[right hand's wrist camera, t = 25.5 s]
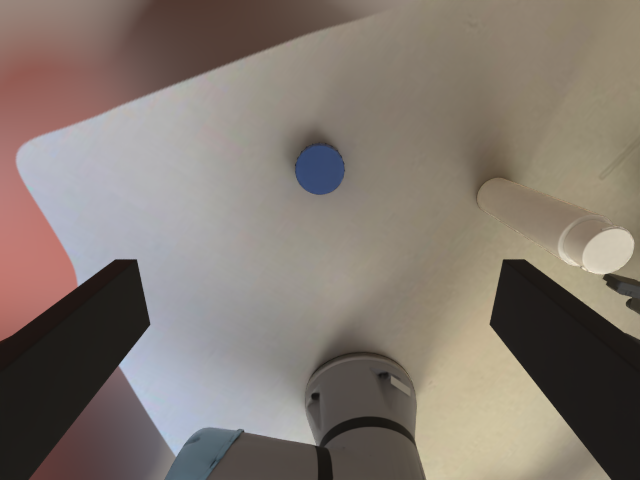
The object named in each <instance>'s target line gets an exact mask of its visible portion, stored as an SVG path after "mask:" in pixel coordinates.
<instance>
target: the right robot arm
mask: <svg viewBox="0 0 640 480" xmlns="http://www.w3.org/2000/svg"><path fill="white" fill-rule="evenodd" d="M149 326H150V320H149V315H148V311H147V306H146V301H145V296H144V292H143V287H142V282H141V277H140V272H139V268H138V263H137V259H115V260H114V261H113V262H111V263H110V264H109V265H107V266H106V267H104V268H103V269H102V270H100V271H99V272H98V273H96V274H95V275H94V276H92V277H91V278H90V279H88V280H87V281H85V282H84V283H83V284H81V285H80V286H79V287H77V288H76V289H75V290H73V291H72V292H71V293H69V294H68V295H66V296H65V297H64V298H62V299H61V300H60V301H58V302H57V303H56V304H54V305H53V306H52V307H50V308H49V309H48V310H46V311H45V312H44V313H42V314H41V315H39V316H38V317H37V318H35V319H34V320H33V321H31V322H30V323H29V324H27V325H26V326H24V327H23V328H22V329H20V330H19V331H18V332H16V333H15V334H14V335H12V336H10V337H8V338H6V339H4V340H2V341H0V480H29V478H30V477H31V476H32V475H33V473H34V472H35V471H36V470H37V468H38V467H39V466H40V464H41V463H42V462H43V461H44V459H45V458H46V457H47V455H48V454H49V453H50V452H51V450H52V449H53V448H54V447H55V445H56V444H57V443H58V442H59V440H60V439H61V438H62V436H63V435H64V434H65V433H66V431H67V430H68V429H69V428H70V426H71V425H72V424H73V422H74V421H75V420H76V419H77V417H78V416H79V415H80V413H81V412H82V411H83V410H84V408H85V407H86V406H87V405H88V403H89V402H90V401H91V399H92V398H93V397H94V396H95V394H96V393H97V392H98V391H99V389H100V388H101V387H102V386H103V384H104V383H105V382H106V380H107V379H108V378H109V377H110V375H111V374H112V373H113V372H114V370H115V369H116V368H117V366H118V365H119V364H120V363H121V361H122V360H123V359H124V358H125V356H126V355H127V354H128V352H129V351H130V350H131V349H132V347H133V346H134V345H135V344H136V342H137V341H138V340H139V338H140V337H141V336H142V335H143V333H144V332H145V331H146V330H147V328H148V327H149ZM490 326H491V327H492V328H493V330H494V331H495V332H496V333H497V335H498V336H499V337H500V338H501V340H502V341H503V342H504V344H505V345H506V346H507V347H508V349H509V350H510V351H511V352H512V354H513V355H514V356H515V358H516V359H517V360H518V361H519V363H520V364H521V365H522V366H523V368H524V369H525V370H526V372H527V373H528V374H529V375H530V377H531V378H532V379H533V380H534V382H535V383H536V384H537V386H538V387H539V388H540V389H541V391H542V392H543V393H544V394H545V396H546V397H547V398H548V400H549V401H550V402H551V403H552V405H553V406H554V407H555V408H556V410H557V411H558V412H559V414H560V415H561V416H562V417H563V419H564V420H565V421H566V422H567V424H568V425H569V426H570V428H571V429H572V430H573V431H574V433H575V434H576V435H577V436H578V438H579V439H580V440H581V442H582V443H583V444H584V445H585V447H586V448H587V449H588V450H589V452H590V453H591V454H592V456H593V457H594V458H595V459H596V461H597V462H598V463H599V464H600V466H601V467H602V468H603V470H604V471H605V472H606V473H607V475H608V476H609V477H610V478H611V480H640V340H639V339H637V338H635V337H633V336H631V335H629V334H627V333H624V332H622V331H621V330H620V329H618V328H617V327H616V326H614V325H613V324H611V323H610V322H609V321H607V320H606V319H605V318H603V317H602V316H601V315H599V314H598V313H597V312H595V311H594V310H593V309H591V308H590V307H588V306H587V305H586V304H584V303H583V302H582V301H580V300H579V299H578V298H576V297H575V296H574V295H572V294H571V293H569V292H568V291H567V290H565V289H564V288H563V287H561V286H560V285H559V284H557V283H556V282H555V281H553V280H552V279H550V278H549V277H548V276H546V275H545V274H544V273H542V272H541V271H540V270H538V269H537V268H536V267H534V266H533V265H531V264H530V263H529V262H527V261H526V260H525V259H503V263H502V268H501V272H500V277H499V282H498V287H497V292H496V296H495V301H494V306H493V311H492V315H491V320H490ZM305 408H306V415H307V419H308V422H309V425H310V428H311V431H312V433H313V436H314V439H315V442H316V445H317V446H315V445H311V444H305V443H299V442H293V441H287V440H282V439H276V438H271V437H266V436H261V435H256V434H251V433H245V432H244V430H242V429H239V430H237V431H235V430H227V429H219V428H203V429H201V430H199V431H197V432H196V433H194V434H193V435H192V436H191V437H190V438H189V439H188V440H187V442H186V443H185V445H184V446H183V448H182V449H181V451H180V452H179V454H178V456H177V457H176V459H175V461H174V463H173V464H172V466H171V468H170V470H169V472H168V474H167V476H166V478H165V480H426V477H425V474H424V470H423V467H422V464H421V460H420V457H419V454H418V450H417V447H416V443H415V425H416V410H417V402H416V395H415V390H414V387H413V384H412V381H411V379H410V377H409V375H408V374H407V372H406V371H405V370H404V369H403V368H402V367H401V366H400V365H398V364H397V363H396V362H394V361H392V360H390V359H388V358H386V357H383V356H380V355H376V354H370V353H353V354H347V355H343V356H340V357H337V358H335V359H332V360H330V361H329V362H327V363H325V364H324V365H323V366H321V367H320V368H319V369H318V370H317V371H316V372H315V373H314V374H313V376H312V377H311V379H310V380H309V383H308V385H307V388H306V396H305Z"/></svg>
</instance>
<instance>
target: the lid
mask: <svg viewBox="0 0 640 480" xmlns="http://www.w3.org/2000/svg"><path fill="white" fill-rule="evenodd" d="M295 166H296V171H295V173H296V177H297V180H298V182H299V183H300V185H301V186H302V187H303V188H304V189H305V190H306V191H308V192H310V193H313V194H318V195H322V194H327V193H330V192H332V191H333V190H335V189H336V188H337V187H338V186H339V185H340V183H341V181H342V179H343V176H344V171H345V170H344V162H343V161H342V156H341V155H340V154H339V153H338V150H336V149H334V148H333V147H332V146H330V145H327V144H326V143H325V144H323V143H317V144H312V145H310V146H308V147H306V148H305V149H304V150H303V151H301V154H300V156H298V158H297V163H296V165H295Z"/></svg>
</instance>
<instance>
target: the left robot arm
mask: <svg viewBox="0 0 640 480" xmlns="http://www.w3.org/2000/svg"><path fill="white" fill-rule="evenodd" d="M603 279H604V280H605V281H607V283H606V285H607V286H608V287H609V288H611V289H613V290H614V291H616V292H617V293H619V294H622V295H626V296H630V297H632V298H631V299H629V300H628V301H627V302H626V306H627V307H628V308H630V309H631V310H634V311H635V312H637V313H638V314H640V282H638V281H637V280H634V279H630V278H626V277H622V276H619V275H615V274H611V273H608V274H605V275H604V277H603Z"/></svg>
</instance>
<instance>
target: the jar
mask: <svg viewBox="0 0 640 480" xmlns="http://www.w3.org/2000/svg"><path fill="white" fill-rule="evenodd" d="M477 203H478V206H479V207H480V209H481V210H483V211H484V212H486V213H487V214H489V215H490V216H492V217H494V218H495V219H497V220H498V221H500V222H502V223H503V224H505V225H506V226H508V227H510V228H511V229H513V230H514V231H516V232H517V233H519V234H521V235H522V236H524V237H525V238H527V239H529V240H530V241H532V242H533V243H535V244H537V245H538V246H540V247H541V248H543V249H545V250H546V251H548V252H549V253H551V254H553V255H554V256H556V257H557V258H559V259H561V260H562V261H564V262H565V263H567V264H569V265H573V266H581V267H580V268H581V269H584V270H586V271H589V272H592V273H595V274H608V273H611V272H614V271H616V270H618V269H620V268H621V267H622V266H624V265H625V264H626V263H627V262H628V260H629V259H630V258H631V256H632V254H633V251H634V245H635V244H634V239H633V237H632V236H631V233H630V232H629V231H628V230H627V229H625V228H623V227H621V226H616V225H613V223H612V222H611V221H610V220H609V219H608V218H607V217H605V216H602V215H600V214H597V213H594V212H592V211H589V210H587V209H584V208H581V207H579V206H576V205H573V204H571V203H568V202H565V201H563V200H560V199H557V198H555V197H552V196H550V195H547V194H544V193H542V192H539V191H536V190H534V189H531V188H528V187H526V186H523V185H520V184H518V183H515V182H513V181H510V180H507V179H505V178H493V179H491V180H489V181H487V182H485V183H484V184H483V185H482V186H481V188H480V190H479V192H478V195H477Z"/></svg>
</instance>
